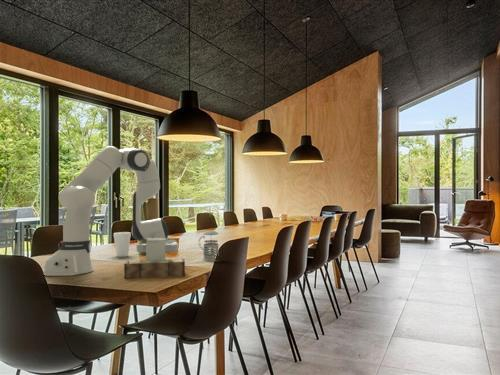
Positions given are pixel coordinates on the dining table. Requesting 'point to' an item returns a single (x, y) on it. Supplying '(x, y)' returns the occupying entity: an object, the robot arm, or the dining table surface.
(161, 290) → the dining table surface
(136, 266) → the box
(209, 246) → the french press
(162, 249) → the skincare box
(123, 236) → the foam cup
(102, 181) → the robot arm
